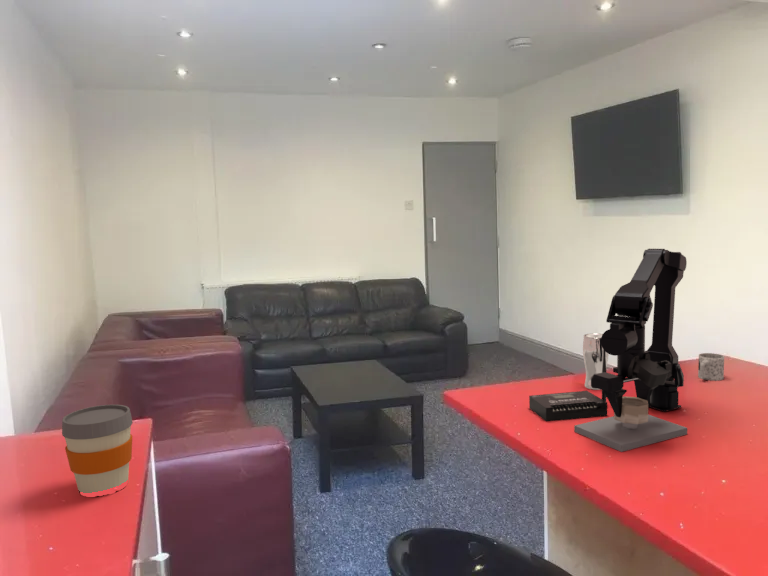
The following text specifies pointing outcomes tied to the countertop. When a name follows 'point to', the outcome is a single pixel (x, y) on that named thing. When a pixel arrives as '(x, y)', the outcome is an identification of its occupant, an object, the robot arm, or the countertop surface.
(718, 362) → the mug
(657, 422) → the post board
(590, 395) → the wireless controller
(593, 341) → the beer glass
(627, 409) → the ring
